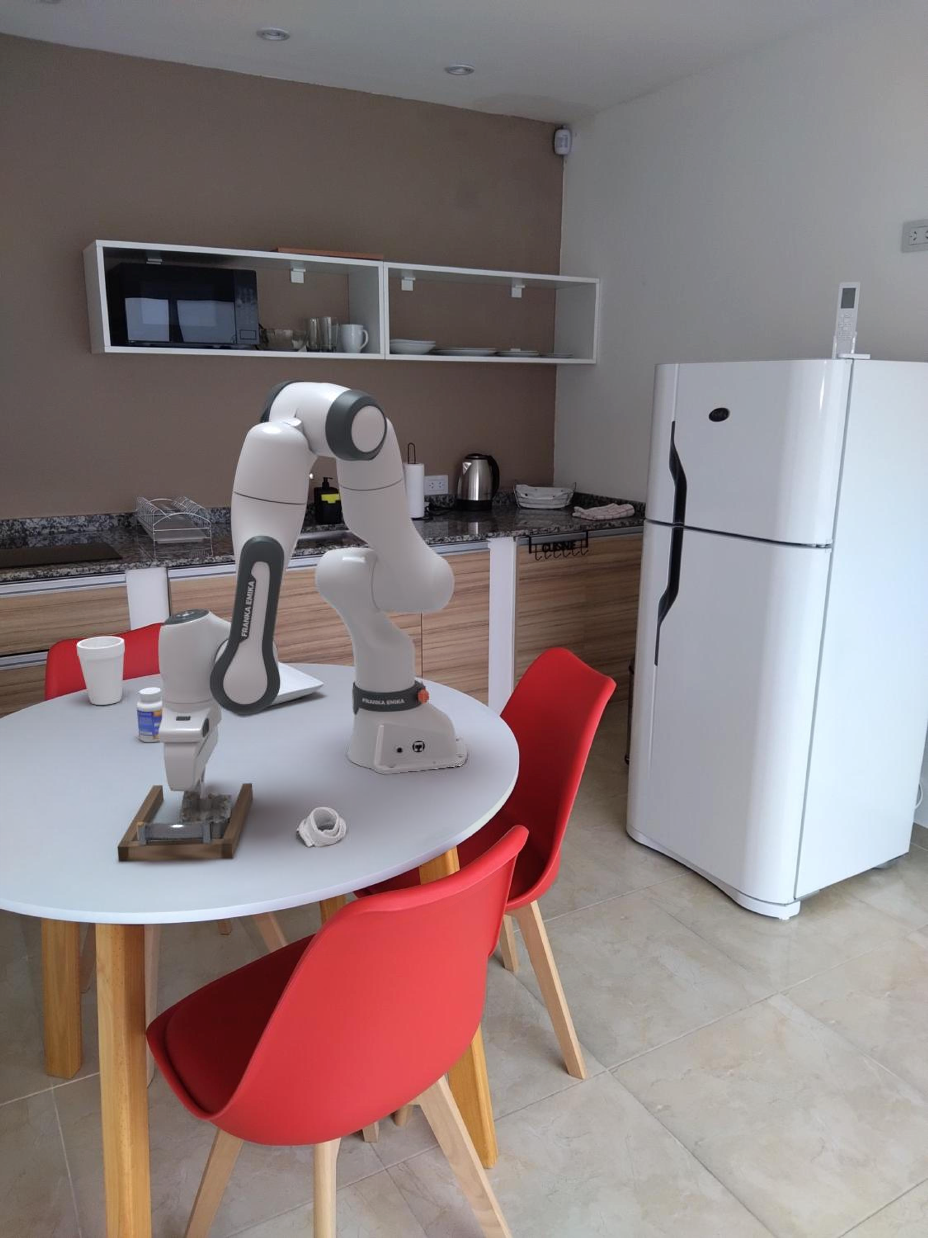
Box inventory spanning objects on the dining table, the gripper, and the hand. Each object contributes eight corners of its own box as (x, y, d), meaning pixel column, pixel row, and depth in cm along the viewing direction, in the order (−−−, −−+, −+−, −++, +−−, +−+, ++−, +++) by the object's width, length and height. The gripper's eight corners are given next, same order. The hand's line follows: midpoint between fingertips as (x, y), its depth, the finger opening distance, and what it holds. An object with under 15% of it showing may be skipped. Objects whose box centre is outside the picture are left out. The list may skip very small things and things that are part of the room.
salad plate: (241, 719, 184) (240, 703, 183) (194, 692, 199) (193, 678, 198) (327, 696, 198) (326, 682, 197) (277, 673, 213) (276, 660, 212)
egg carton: (183, 809, 142) (183, 786, 141) (231, 810, 143) (232, 786, 143) (176, 841, 132) (177, 816, 131) (228, 841, 133) (229, 816, 132)
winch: (213, 837, 129) (211, 817, 128) (209, 845, 127) (208, 825, 126) (141, 839, 128) (139, 819, 128) (136, 847, 126) (134, 827, 125)
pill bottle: (159, 744, 170) (155, 696, 167) (133, 741, 171) (129, 694, 168) (173, 733, 175) (170, 687, 172) (148, 731, 176) (145, 685, 173)
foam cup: (72, 703, 190) (66, 645, 187) (105, 690, 199) (99, 634, 195) (106, 709, 187) (101, 650, 184) (138, 696, 195) (133, 639, 192)
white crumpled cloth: (330, 823, 141) (329, 795, 139) (357, 837, 136) (357, 808, 135) (288, 841, 135) (287, 811, 134) (316, 856, 131) (315, 826, 129)
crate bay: (252, 799, 148) (252, 783, 147) (232, 862, 128) (231, 843, 128) (154, 802, 146) (153, 785, 146) (119, 865, 127) (117, 847, 126)
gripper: (186, 689, 149) (191, 765, 153) (154, 736, 130) (161, 822, 133) (224, 689, 150) (229, 765, 153) (198, 736, 130) (204, 821, 134)
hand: (197, 792), depth 143 cm, fingers closed
